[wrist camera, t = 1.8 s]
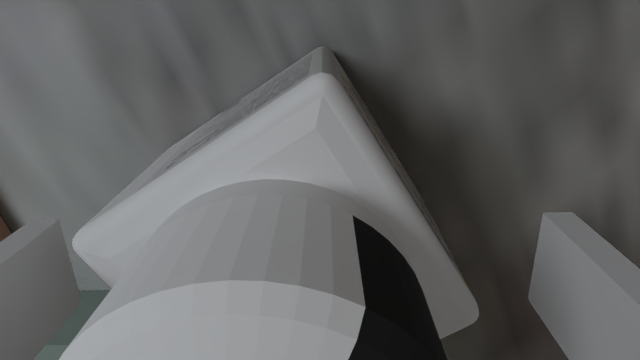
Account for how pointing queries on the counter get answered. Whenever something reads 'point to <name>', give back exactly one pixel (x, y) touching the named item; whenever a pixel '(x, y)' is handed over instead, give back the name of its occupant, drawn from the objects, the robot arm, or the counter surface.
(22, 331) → the robot arm
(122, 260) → the container
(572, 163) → the counter surface
